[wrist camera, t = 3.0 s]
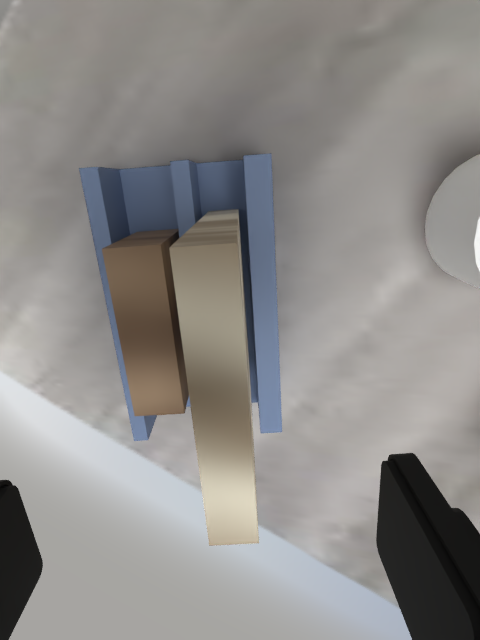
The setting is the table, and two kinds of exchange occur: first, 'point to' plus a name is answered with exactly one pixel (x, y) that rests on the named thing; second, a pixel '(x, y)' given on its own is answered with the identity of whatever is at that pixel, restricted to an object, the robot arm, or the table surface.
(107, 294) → the rack
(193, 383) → the birch sheet
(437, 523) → the robot arm
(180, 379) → the walnut offcut
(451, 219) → the base with upright slab
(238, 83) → the table surface
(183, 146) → the table surface
